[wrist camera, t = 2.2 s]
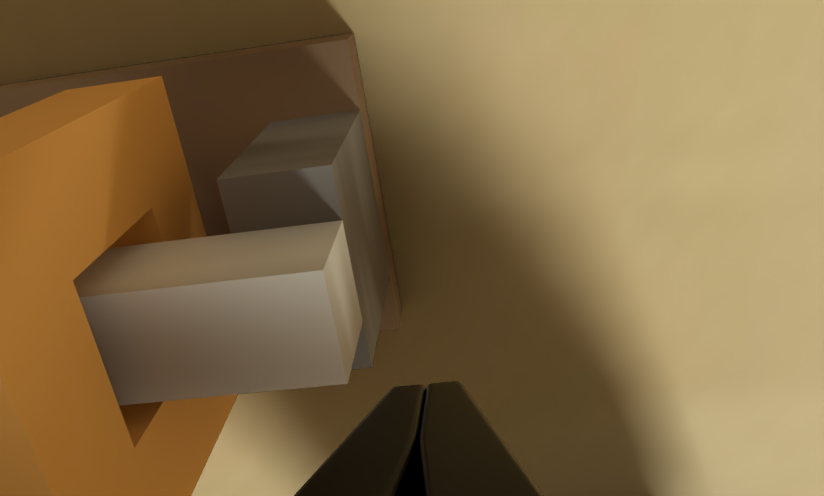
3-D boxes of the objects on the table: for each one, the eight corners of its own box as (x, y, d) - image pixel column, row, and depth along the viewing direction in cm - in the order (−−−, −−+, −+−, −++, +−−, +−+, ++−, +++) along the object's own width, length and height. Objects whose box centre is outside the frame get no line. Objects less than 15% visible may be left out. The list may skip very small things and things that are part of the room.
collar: (246, 377, 17) (120, 648, 11) (164, 385, 17) (-9, 655, 11) (161, 75, 14) (-76, 198, 8) (65, 89, 15) (-242, 219, 8)
